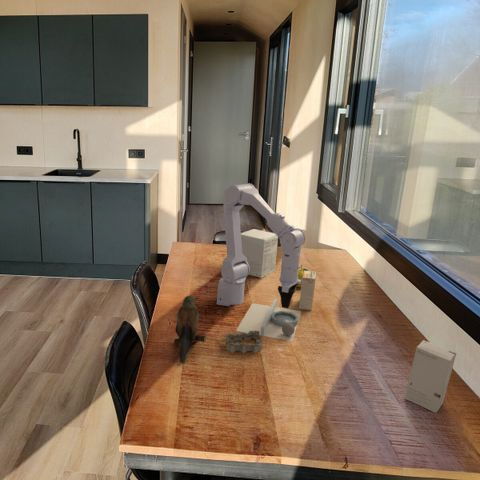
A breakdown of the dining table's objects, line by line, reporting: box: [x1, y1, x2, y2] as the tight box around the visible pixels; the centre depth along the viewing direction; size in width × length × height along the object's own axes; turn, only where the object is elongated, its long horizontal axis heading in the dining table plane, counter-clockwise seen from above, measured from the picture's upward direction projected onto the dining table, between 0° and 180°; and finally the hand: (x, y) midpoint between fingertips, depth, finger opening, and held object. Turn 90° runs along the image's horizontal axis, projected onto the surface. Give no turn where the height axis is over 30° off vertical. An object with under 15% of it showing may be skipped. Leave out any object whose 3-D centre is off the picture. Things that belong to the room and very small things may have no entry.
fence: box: [260, 298, 278, 337], centre depth 144 cm, size 1×23×3 cm, turn 165°
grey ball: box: [282, 323, 296, 336], centre depth 135 cm, size 4×4×4 cm
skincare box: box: [403, 340, 457, 414], centre depth 106 cm, size 8×6×15 cm
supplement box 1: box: [241, 228, 279, 279], centre depth 192 cm, size 13×13×18 cm
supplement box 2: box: [298, 270, 317, 311], centre depth 158 cm, size 8×5×13 cm, turn 168°
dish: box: [271, 311, 300, 327], centre depth 145 cm, size 9×9×2 cm
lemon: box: [296, 264, 309, 288], centre depth 177 cm, size 7×6×10 cm
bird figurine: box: [173, 295, 208, 365], centre depth 126 cm, size 13×10×20 cm
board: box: [235, 302, 302, 342], centre depth 145 cm, size 18×23×1 cm
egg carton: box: [225, 331, 263, 354], centre depth 128 cm, size 11×8×4 cm
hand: (286, 304), depth 143 cm, fingers closed on rust ball, 4 cm apart
